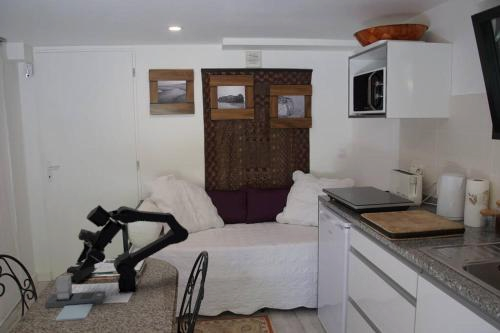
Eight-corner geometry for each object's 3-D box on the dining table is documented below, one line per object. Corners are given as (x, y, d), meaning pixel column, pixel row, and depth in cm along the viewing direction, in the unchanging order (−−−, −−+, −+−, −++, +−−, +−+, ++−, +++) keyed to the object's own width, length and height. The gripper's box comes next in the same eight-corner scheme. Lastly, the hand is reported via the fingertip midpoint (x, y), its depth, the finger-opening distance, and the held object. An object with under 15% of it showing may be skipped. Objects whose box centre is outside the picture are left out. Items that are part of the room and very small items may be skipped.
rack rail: (105, 295, 153) (105, 290, 152) (101, 304, 146) (101, 298, 146) (52, 299, 150) (51, 294, 150) (45, 308, 143) (44, 302, 143)
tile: (93, 305, 145) (92, 303, 145) (85, 319, 135) (85, 317, 135) (64, 307, 144) (64, 305, 143) (55, 321, 134) (55, 319, 134)
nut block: (72, 299, 150) (70, 275, 148) (69, 304, 146) (67, 279, 144) (61, 300, 149) (59, 275, 148) (57, 305, 145) (55, 280, 144)
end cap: (82, 284, 163) (80, 269, 162) (67, 283, 165) (65, 268, 164) (95, 274, 173) (94, 260, 172) (81, 273, 174) (80, 259, 174)
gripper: (88, 216, 157) (60, 247, 153) (93, 227, 140) (62, 262, 137) (109, 232, 161) (83, 262, 158) (117, 245, 145) (87, 279, 141)
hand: (78, 266), depth 148 cm, fingers open, 9 cm apart
